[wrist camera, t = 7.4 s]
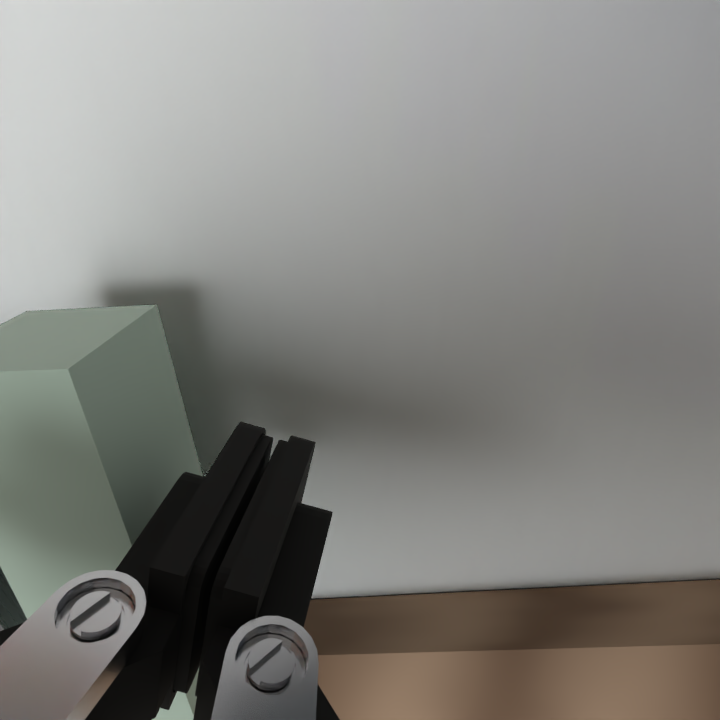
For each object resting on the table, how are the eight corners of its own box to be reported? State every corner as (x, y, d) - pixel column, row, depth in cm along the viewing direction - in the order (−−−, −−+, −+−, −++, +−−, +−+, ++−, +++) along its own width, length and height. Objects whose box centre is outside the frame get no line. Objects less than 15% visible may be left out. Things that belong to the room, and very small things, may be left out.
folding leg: (278, 740, 17) (248, 865, 15) (186, 733, 18) (139, 853, 15) (163, 302, 11) (69, 372, 8) (25, 309, 12) (-109, 377, 9)
